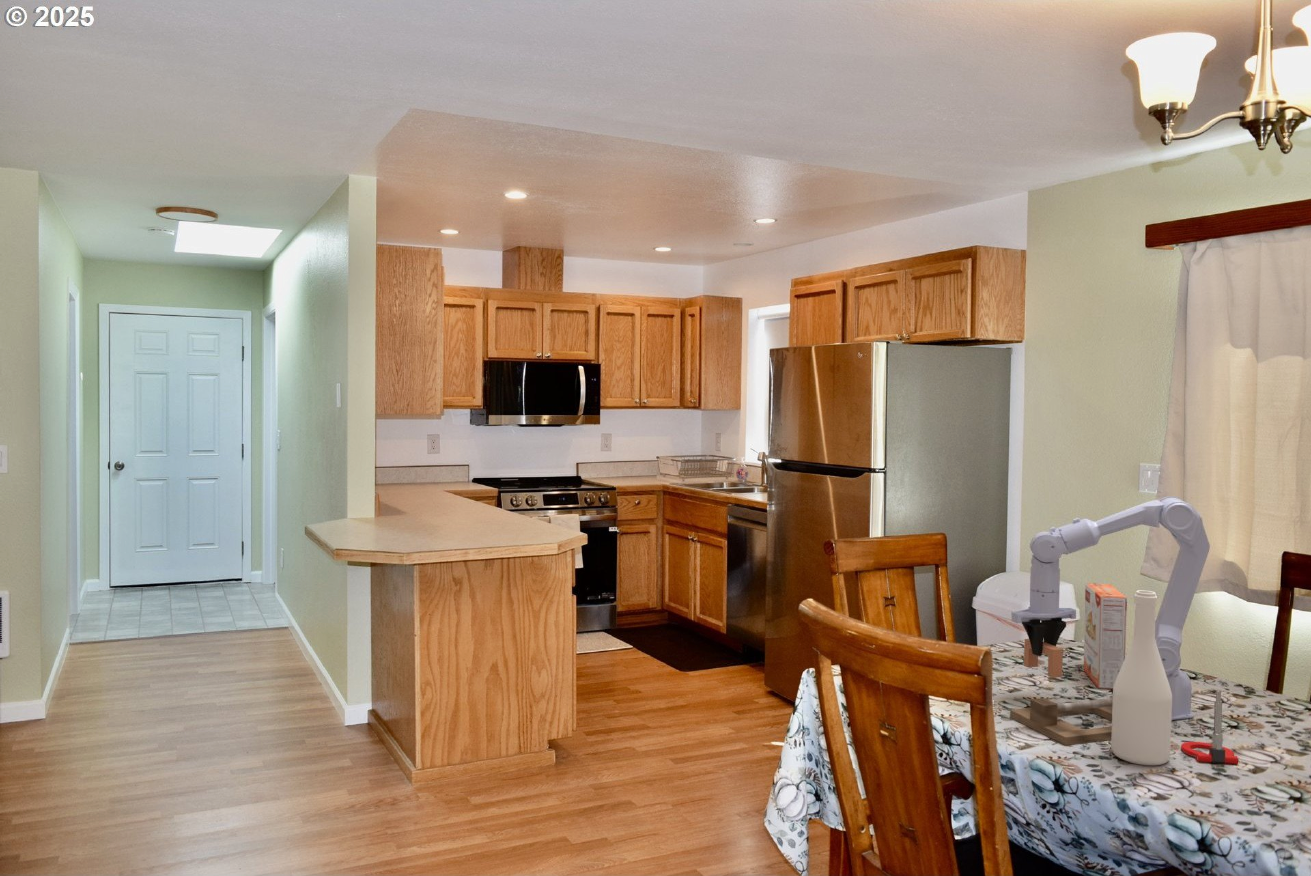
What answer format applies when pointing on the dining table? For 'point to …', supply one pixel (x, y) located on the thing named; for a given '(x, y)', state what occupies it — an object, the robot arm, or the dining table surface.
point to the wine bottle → (1142, 694)
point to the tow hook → (1215, 749)
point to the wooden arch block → (1053, 658)
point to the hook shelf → (1047, 723)
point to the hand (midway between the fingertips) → (1043, 654)
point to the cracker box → (1104, 633)
